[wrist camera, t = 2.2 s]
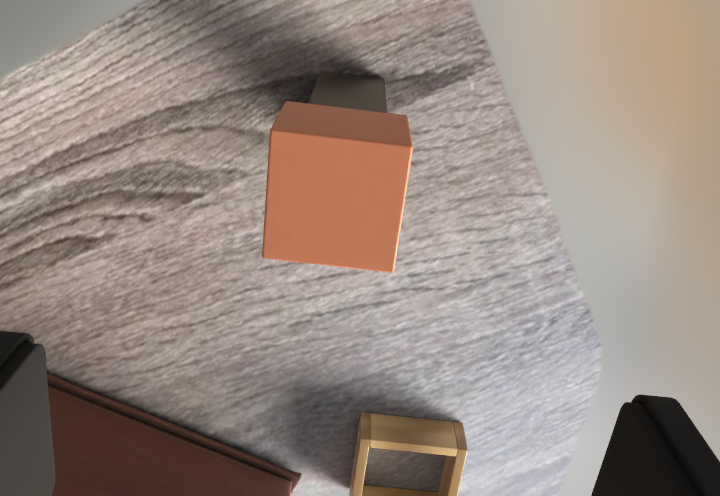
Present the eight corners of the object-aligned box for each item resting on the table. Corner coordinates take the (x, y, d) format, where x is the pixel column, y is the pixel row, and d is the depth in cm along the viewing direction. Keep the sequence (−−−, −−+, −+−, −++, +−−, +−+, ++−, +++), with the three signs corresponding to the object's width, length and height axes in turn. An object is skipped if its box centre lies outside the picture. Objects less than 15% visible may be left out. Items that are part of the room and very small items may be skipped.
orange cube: (407, 115, 24) (413, 145, 21) (391, 227, 26) (394, 273, 23) (285, 100, 24) (269, 128, 21) (277, 214, 26) (261, 258, 22)
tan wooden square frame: (462, 422, 42) (467, 449, 40) (445, 499, 45) (449, 529, 43) (360, 411, 42) (360, 438, 40) (349, 489, 45) (348, 519, 43)
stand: (384, 78, 34) (388, 129, 25) (376, 140, 35) (377, 211, 26) (320, 70, 34) (300, 118, 25) (314, 133, 35) (294, 201, 26)
